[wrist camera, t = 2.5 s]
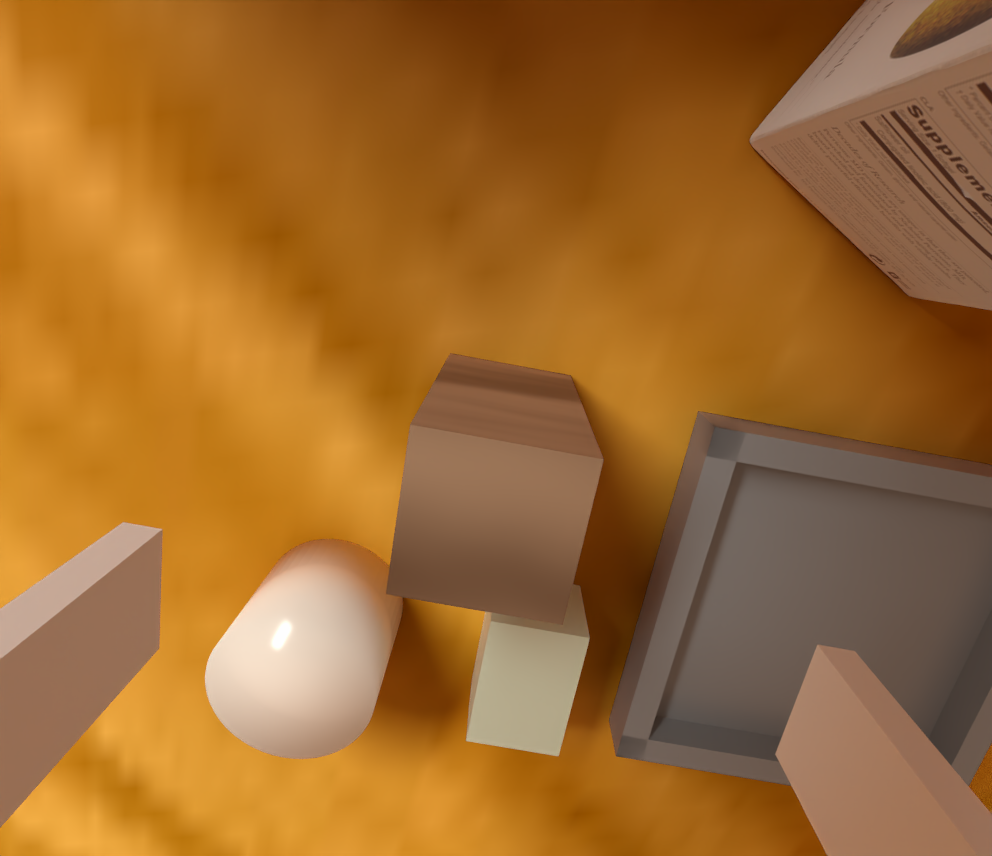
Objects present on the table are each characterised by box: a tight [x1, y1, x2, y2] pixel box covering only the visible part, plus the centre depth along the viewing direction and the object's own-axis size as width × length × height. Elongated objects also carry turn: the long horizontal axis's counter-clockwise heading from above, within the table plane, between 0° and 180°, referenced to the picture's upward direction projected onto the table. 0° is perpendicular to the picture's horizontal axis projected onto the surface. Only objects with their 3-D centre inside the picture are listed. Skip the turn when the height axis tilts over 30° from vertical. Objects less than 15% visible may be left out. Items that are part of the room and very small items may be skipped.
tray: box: [609, 411, 992, 787], centre depth 27 cm, size 16×16×2 cm
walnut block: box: [386, 353, 604, 625], centre depth 21 cm, size 5×5×10 cm
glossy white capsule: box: [205, 539, 403, 759], centre depth 26 cm, size 6×6×6 cm
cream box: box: [466, 584, 590, 756], centre depth 27 cm, size 6×4×4 cm, turn 170°
